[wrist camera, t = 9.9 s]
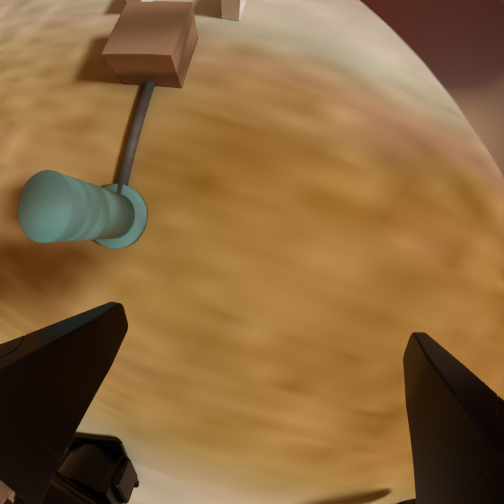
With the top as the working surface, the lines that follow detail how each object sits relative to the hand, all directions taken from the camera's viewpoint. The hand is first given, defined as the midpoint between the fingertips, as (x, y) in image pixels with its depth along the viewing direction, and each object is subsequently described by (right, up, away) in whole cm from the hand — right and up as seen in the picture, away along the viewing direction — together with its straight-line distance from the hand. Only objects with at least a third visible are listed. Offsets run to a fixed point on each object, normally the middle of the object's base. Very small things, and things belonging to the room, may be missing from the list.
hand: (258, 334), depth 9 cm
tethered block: (-9, +11, +12) cm, 19 cm away
